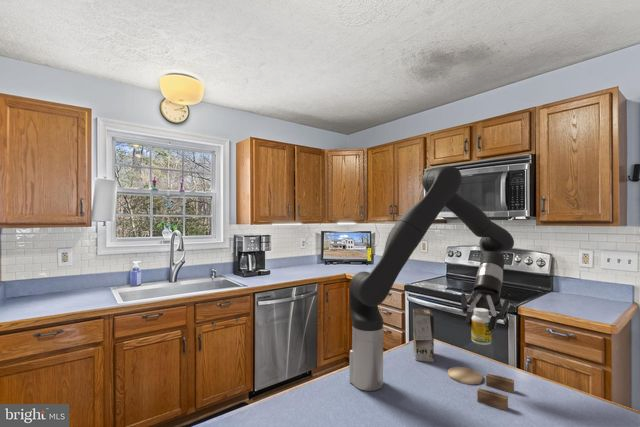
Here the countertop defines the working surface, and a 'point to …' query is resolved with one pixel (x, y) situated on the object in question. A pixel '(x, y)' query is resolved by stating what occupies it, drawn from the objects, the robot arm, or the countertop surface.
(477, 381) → the trivet
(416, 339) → the coffee box
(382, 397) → the countertop surface
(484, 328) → the supplement bottle
